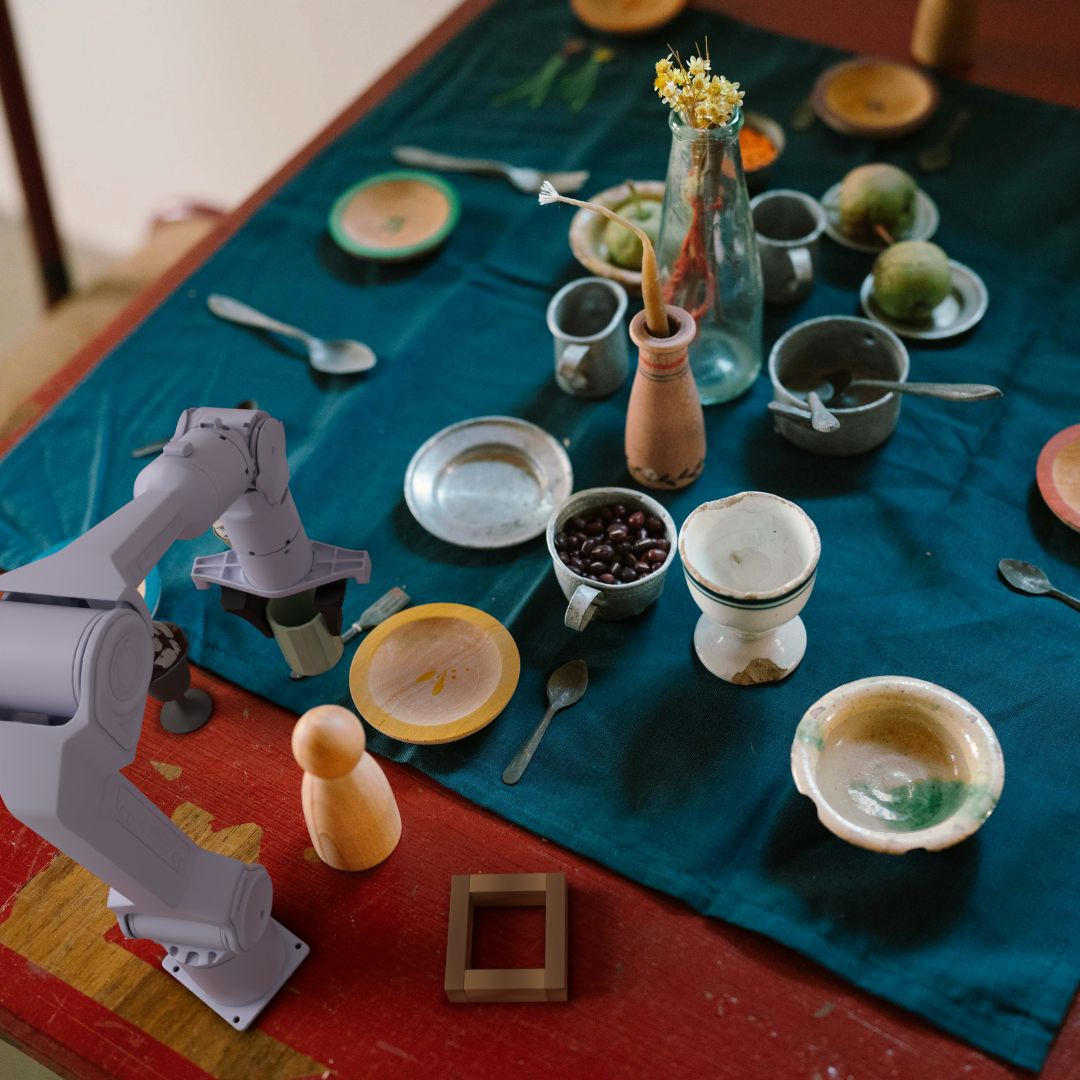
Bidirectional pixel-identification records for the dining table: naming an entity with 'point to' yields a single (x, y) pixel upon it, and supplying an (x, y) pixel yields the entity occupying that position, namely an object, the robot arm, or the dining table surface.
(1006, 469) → the dining table surface
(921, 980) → the dining table surface
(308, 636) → the cup
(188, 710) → the sundae
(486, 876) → the brown square frame
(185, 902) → the robot arm
